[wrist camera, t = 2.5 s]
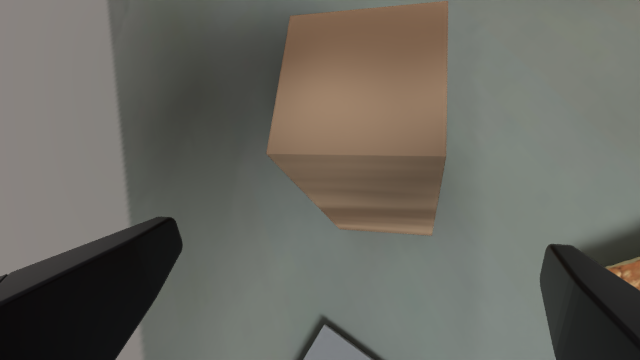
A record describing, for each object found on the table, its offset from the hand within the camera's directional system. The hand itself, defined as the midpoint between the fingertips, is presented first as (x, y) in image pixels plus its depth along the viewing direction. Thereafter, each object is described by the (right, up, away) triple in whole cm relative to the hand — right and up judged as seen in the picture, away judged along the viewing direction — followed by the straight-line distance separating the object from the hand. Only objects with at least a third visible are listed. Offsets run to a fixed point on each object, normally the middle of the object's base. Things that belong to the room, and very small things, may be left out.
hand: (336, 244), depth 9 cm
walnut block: (+3, +1, +12) cm, 13 cm away
